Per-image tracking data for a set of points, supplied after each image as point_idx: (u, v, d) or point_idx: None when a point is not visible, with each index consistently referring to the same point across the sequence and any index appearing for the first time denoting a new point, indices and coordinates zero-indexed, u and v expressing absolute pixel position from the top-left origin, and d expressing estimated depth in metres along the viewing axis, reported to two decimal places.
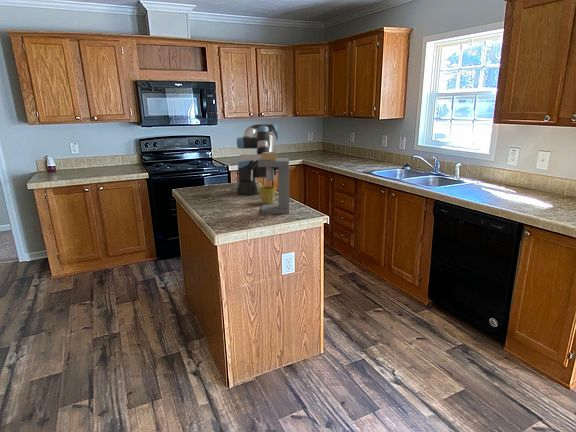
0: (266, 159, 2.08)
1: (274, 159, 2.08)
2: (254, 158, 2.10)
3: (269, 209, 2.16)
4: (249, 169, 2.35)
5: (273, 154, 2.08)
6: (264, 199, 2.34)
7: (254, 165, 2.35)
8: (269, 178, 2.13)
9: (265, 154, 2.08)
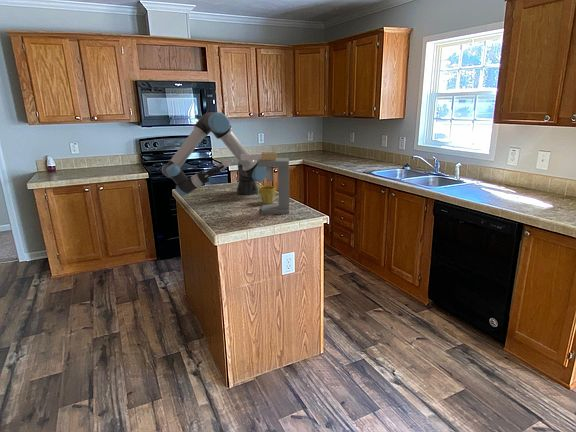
0: (266, 159, 2.08)
1: (274, 159, 2.08)
2: (254, 158, 2.10)
3: (269, 209, 2.16)
4: None
5: (273, 154, 2.08)
6: (264, 199, 2.34)
7: None
8: (269, 178, 2.13)
9: (265, 154, 2.08)
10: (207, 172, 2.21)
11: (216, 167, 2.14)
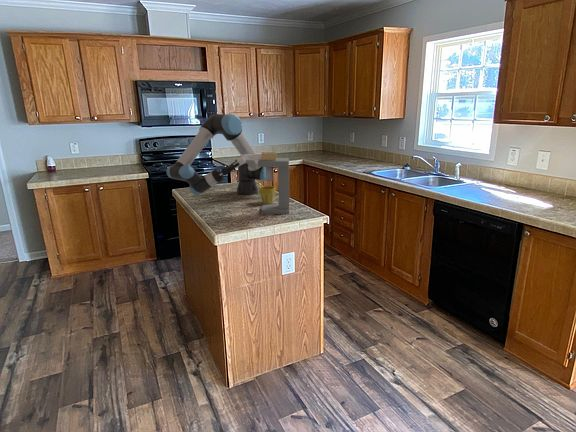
0: (266, 159, 2.08)
1: (274, 159, 2.08)
2: (254, 158, 2.10)
3: (269, 209, 2.16)
4: None
5: (273, 154, 2.08)
6: (264, 199, 2.34)
7: None
8: (269, 178, 2.13)
9: (265, 154, 2.08)
10: (222, 170, 2.11)
11: (231, 165, 2.04)
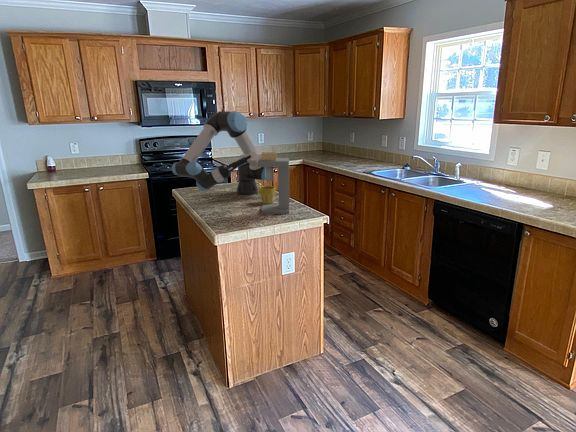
0: (266, 159, 2.08)
1: (274, 159, 2.08)
2: (254, 158, 2.10)
3: (269, 209, 2.16)
4: None
5: (273, 154, 2.08)
6: (264, 199, 2.34)
7: None
8: (269, 178, 2.13)
9: (265, 154, 2.08)
10: (229, 166, 2.11)
11: None
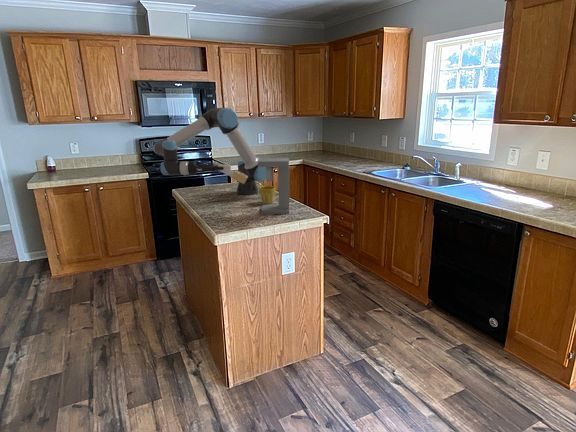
0: (235, 178, 2.12)
1: (242, 182, 2.12)
2: (225, 171, 2.12)
3: (269, 209, 2.16)
4: None
5: (244, 178, 2.12)
6: (264, 199, 2.34)
7: None
8: (269, 178, 2.13)
9: (237, 174, 2.11)
10: (199, 166, 2.11)
11: (216, 166, 2.10)
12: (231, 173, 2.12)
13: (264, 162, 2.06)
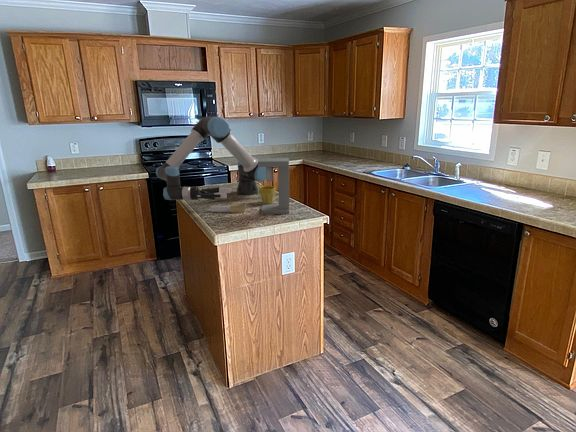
0: (234, 211, 2.17)
1: (242, 211, 2.17)
2: (223, 210, 2.19)
3: (269, 209, 2.16)
4: None
5: (241, 207, 2.17)
6: (264, 199, 2.34)
7: None
8: (269, 178, 2.13)
9: (233, 206, 2.17)
10: (200, 191, 2.15)
11: None
12: (228, 208, 2.19)
13: (264, 162, 2.06)
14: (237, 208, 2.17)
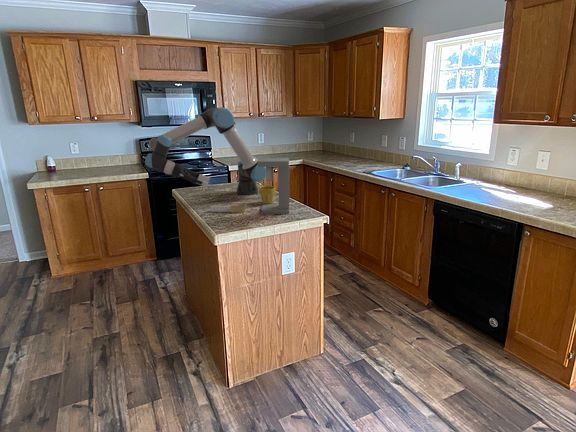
0: (234, 211, 2.17)
1: (242, 211, 2.17)
2: (223, 210, 2.19)
3: (269, 209, 2.16)
4: None
5: (241, 207, 2.17)
6: (264, 199, 2.34)
7: (193, 176, 2.24)
8: (269, 178, 2.13)
9: (233, 206, 2.17)
10: (184, 171, 2.16)
11: None
12: (228, 208, 2.19)
13: (264, 162, 2.06)
14: (237, 208, 2.17)
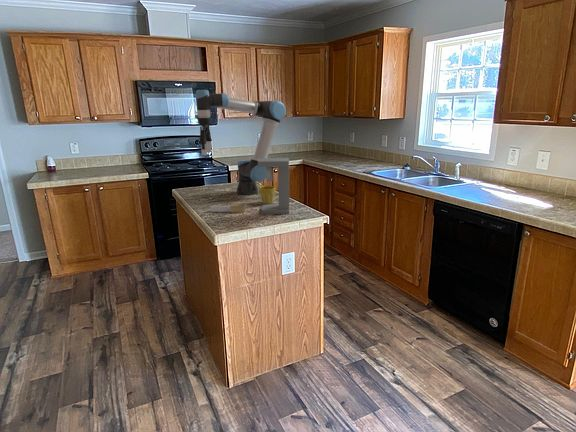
0: (234, 211, 2.17)
1: (242, 211, 2.17)
2: (223, 210, 2.19)
3: (269, 209, 2.16)
4: None
5: (241, 207, 2.17)
6: (264, 199, 2.34)
7: None
8: (269, 178, 2.13)
9: (233, 206, 2.17)
10: (206, 128, 2.22)
11: None
12: (228, 208, 2.19)
13: (264, 162, 2.06)
14: (237, 208, 2.17)
